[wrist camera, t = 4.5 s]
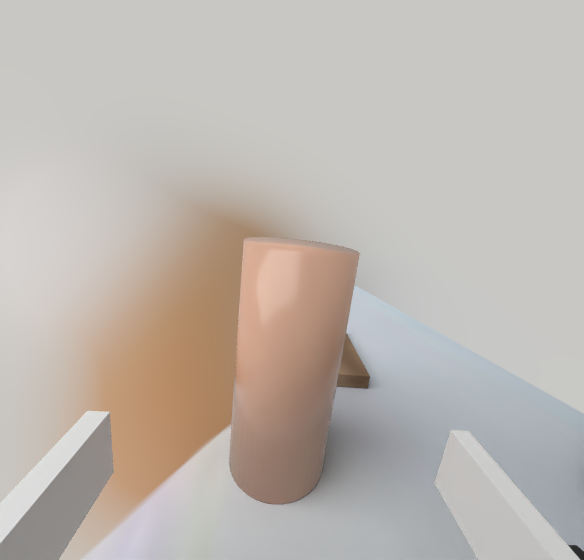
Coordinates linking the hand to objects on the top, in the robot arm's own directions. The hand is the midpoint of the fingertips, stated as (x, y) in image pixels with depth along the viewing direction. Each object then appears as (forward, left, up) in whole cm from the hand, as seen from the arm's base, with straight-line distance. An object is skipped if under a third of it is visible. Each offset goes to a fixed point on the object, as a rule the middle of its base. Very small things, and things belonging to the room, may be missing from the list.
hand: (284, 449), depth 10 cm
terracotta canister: (0, -8, -9) cm, 12 cm away
